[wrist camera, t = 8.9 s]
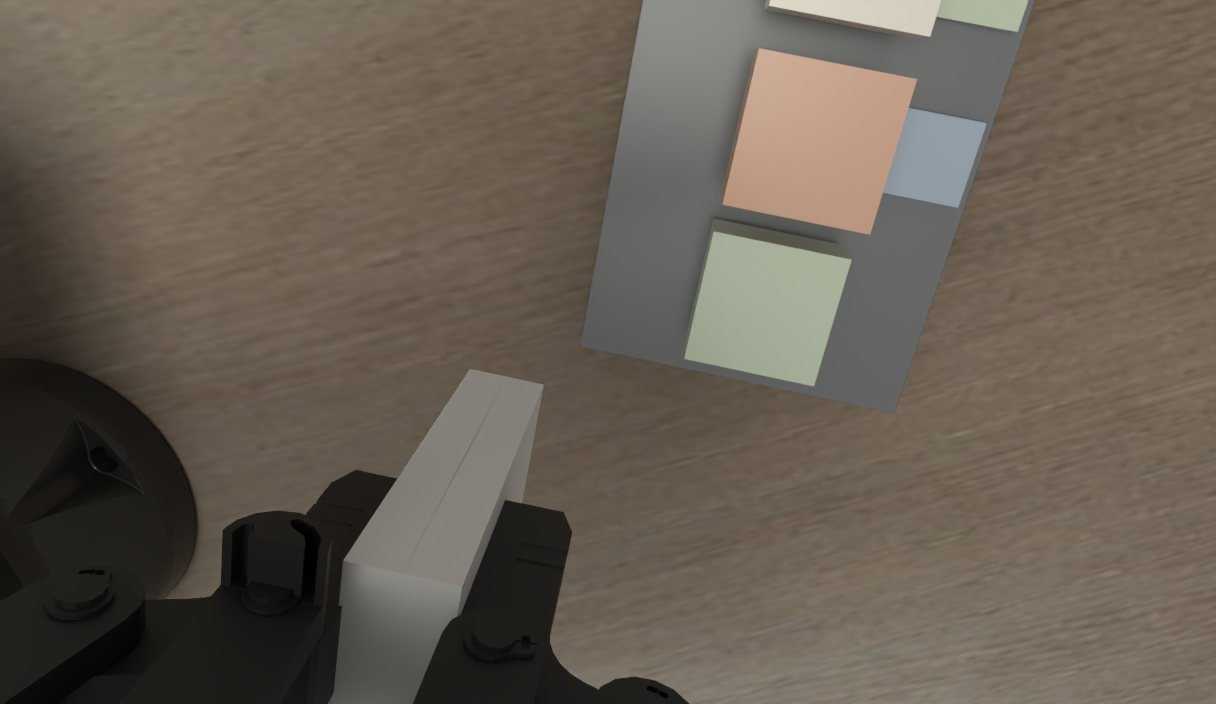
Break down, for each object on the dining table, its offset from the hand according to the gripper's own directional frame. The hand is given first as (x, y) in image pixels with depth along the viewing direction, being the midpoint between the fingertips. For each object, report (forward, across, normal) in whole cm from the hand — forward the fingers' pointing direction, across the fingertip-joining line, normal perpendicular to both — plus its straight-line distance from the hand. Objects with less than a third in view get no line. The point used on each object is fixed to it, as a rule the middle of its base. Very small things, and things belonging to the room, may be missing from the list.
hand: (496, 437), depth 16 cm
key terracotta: (+17, -7, -6) cm, 19 cm away
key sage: (+18, -7, 0) cm, 20 cm away
